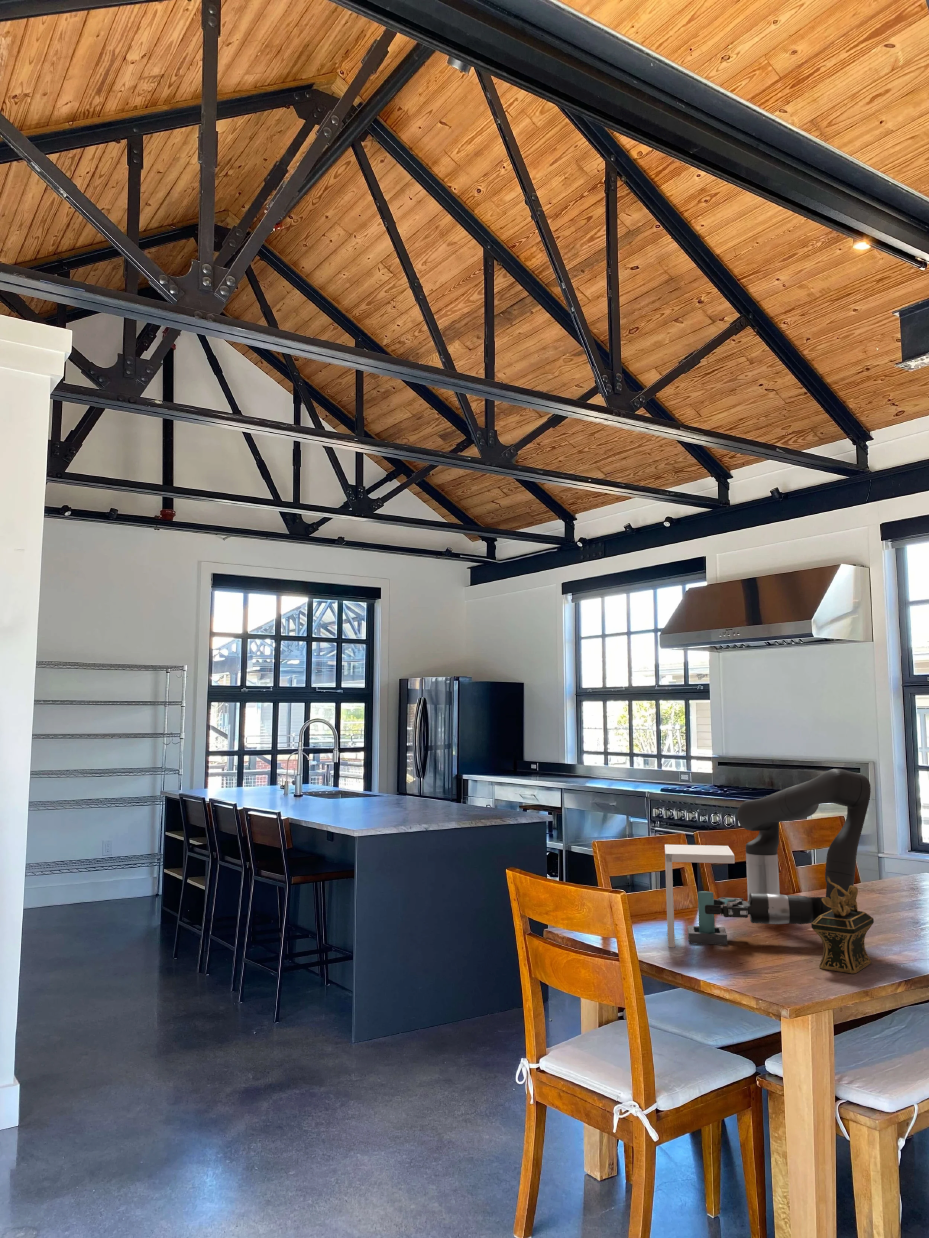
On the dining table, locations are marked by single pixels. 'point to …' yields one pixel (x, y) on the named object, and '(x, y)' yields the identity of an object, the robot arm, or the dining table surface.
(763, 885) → the robot arm
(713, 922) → the peg
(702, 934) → the socket
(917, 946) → the dining table surface
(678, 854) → the white inverted l bracket
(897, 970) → the dining table surface
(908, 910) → the dining table surface
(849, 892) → the decorative box
